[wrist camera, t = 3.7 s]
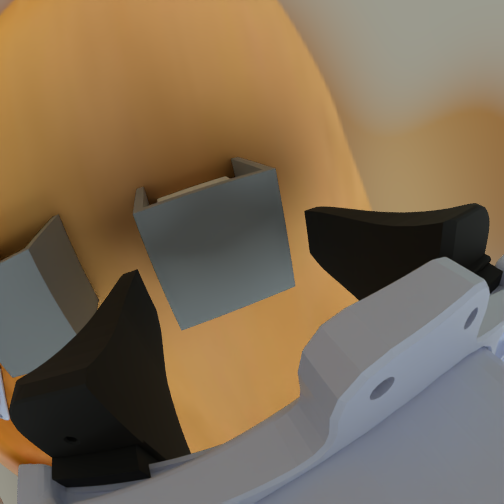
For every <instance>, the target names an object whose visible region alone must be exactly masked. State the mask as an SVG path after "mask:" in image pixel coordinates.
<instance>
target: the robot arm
mask: <svg viewBox="0 0 504 504" xmlns="http://www.w3.org/2000/svg"><path fill="white" fill-rule="evenodd" d="M305 219H306V226H307V234H308V242H309V250H310V254H311V255H312V256H313V257H314V259H315V260H316V261H317V262H318V263H319V265H320V266H321V267H322V268H323V269H324V270H325V271H326V272H328V273H329V274H330V275H331V276H332V277H333V278H334V279H336V280H337V281H338V282H339V283H340V284H341V285H342V286H344V287H345V288H346V289H347V290H348V291H349V292H350V293H352V294H353V295H354V296H355V297H356V298H357V299H358V300H359V301H358V302H356V303H354V304H352V305H350V306H348V307H346V308H344V309H343V310H341V311H340V312H339V313H337V314H336V315H335V316H333V317H332V318H330V319H329V320H328V321H326V322H325V323H324V324H322V325H321V326H320V327H319V329H318V330H317V331H316V333H315V334H314V335H313V337H312V338H311V339H310V341H309V342H308V343H307V345H306V346H305V347H304V349H303V351H302V356H301V360H300V365H299V370H298V377H299V384H300V397H299V398H297V399H296V400H294V401H293V402H291V403H290V404H288V405H287V406H285V407H284V408H282V409H281V410H279V411H278V412H276V413H275V414H273V415H272V416H270V417H268V418H267V419H265V420H264V421H262V422H260V423H259V424H257V425H255V426H254V427H252V428H250V429H249V430H247V431H245V432H244V433H242V434H240V435H238V436H237V437H235V438H233V439H231V440H229V441H228V442H226V443H224V444H221V445H218V446H215V447H212V448H209V449H206V450H203V451H199V452H196V453H192V454H191V453H190V450H189V448H188V445H187V443H186V440H185V437H184V435H183V432H182V429H181V426H180V423H179V420H178V417H177V414H176V411H175V408H174V405H173V401H172V398H171V394H170V390H169V387H168V382H167V377H166V371H165V362H164V354H163V344H162V335H161V328H160V323H159V319H158V315H157V311H156V308H155V306H154V304H153V302H152V300H151V298H150V296H149V294H148V292H147V289H146V287H145V285H144V283H143V281H142V278H141V276H140V274H139V272H138V269H136V270H134V271H131V272H128V273H126V274H123V275H122V276H121V278H120V279H119V280H118V282H117V283H116V284H115V286H114V287H113V289H112V290H111V292H110V293H109V295H108V296H107V297H106V299H105V300H104V302H103V303H102V304H101V306H100V307H99V308H98V310H97V311H96V312H95V314H94V315H93V316H92V318H91V319H90V320H89V321H88V323H87V324H86V325H85V326H84V327H83V328H82V329H81V330H80V331H79V333H78V334H77V335H76V336H75V337H73V338H72V339H71V340H70V341H69V342H68V343H67V344H66V345H65V346H64V347H63V348H62V349H61V350H60V351H58V352H57V353H56V354H55V355H53V356H52V357H51V358H50V359H48V360H47V361H46V362H44V363H43V364H42V365H40V366H39V367H37V368H36V369H34V370H33V371H31V372H30V373H28V374H27V375H25V376H23V377H22V378H20V379H19V380H17V381H16V384H15V388H14V392H13V396H12V400H11V404H10V409H9V411H8V406H7V402H6V397H5V392H4V386H3V380H2V374H1V369H0V418H2V419H4V420H9V419H10V418H11V421H12V422H13V424H14V425H15V427H16V428H17V430H18V431H19V432H20V433H21V434H22V435H23V436H24V437H26V438H27V439H28V440H29V441H31V442H32V443H33V444H34V445H36V446H37V447H38V448H40V449H41V450H42V451H44V452H45V453H46V454H48V455H49V456H50V457H52V467H51V466H48V465H45V464H21V465H19V469H18V491H17V494H18V495H17V504H504V255H503V256H502V257H501V258H500V259H499V260H498V261H497V263H496V265H495V266H493V265H491V264H490V263H489V262H490V261H491V258H490V256H488V255H486V254H485V249H486V244H487V239H488V233H489V216H488V212H487V210H486V208H485V207H483V206H481V205H479V204H476V203H473V204H467V205H462V206H458V207H453V208H448V209H442V210H435V211H426V212H408V213H407V212H406V213H396V212H375V211H364V210H355V209H346V208H337V207H315V208H312V209H309V210H306V211H305ZM0 504H3V502H2V500H1V498H0Z"/></svg>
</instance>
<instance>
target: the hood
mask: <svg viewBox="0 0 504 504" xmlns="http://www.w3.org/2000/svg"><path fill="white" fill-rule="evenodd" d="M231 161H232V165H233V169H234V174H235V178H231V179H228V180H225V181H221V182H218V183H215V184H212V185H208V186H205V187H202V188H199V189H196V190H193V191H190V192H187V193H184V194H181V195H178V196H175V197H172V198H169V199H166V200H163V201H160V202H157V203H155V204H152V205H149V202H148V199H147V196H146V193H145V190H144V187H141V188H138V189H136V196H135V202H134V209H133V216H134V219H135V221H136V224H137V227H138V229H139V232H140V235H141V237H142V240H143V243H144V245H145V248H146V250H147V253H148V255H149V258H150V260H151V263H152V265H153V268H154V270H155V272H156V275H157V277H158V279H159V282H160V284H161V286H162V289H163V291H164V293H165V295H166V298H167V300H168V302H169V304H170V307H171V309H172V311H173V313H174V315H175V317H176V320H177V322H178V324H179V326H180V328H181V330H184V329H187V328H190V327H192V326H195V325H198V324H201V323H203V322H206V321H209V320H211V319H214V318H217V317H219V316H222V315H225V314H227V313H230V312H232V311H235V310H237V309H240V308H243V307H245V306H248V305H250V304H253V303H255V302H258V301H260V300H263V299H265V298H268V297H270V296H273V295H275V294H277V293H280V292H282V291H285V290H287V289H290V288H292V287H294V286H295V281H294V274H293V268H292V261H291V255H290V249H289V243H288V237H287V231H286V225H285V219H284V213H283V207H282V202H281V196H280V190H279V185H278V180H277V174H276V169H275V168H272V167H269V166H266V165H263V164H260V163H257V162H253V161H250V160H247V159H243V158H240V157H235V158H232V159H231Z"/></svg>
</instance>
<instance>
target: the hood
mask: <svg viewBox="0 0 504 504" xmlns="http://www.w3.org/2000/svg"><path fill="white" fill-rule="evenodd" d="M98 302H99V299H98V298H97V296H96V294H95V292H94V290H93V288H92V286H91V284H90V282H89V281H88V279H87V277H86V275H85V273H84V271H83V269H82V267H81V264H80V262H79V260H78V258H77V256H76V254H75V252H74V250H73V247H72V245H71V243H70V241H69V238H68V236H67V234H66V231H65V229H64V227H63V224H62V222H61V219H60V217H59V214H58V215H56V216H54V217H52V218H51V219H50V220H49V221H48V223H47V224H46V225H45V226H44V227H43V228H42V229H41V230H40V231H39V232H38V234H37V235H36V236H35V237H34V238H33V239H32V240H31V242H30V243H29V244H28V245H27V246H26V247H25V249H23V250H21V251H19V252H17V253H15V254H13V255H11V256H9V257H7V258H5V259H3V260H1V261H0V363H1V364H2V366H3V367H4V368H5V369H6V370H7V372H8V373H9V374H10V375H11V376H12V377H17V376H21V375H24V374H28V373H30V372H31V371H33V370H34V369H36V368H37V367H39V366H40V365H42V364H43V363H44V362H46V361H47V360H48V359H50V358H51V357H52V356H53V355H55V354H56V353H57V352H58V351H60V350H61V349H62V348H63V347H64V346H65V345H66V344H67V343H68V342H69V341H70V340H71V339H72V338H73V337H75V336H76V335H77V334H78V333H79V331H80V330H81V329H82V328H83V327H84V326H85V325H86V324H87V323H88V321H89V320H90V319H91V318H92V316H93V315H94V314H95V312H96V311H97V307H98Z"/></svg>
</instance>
